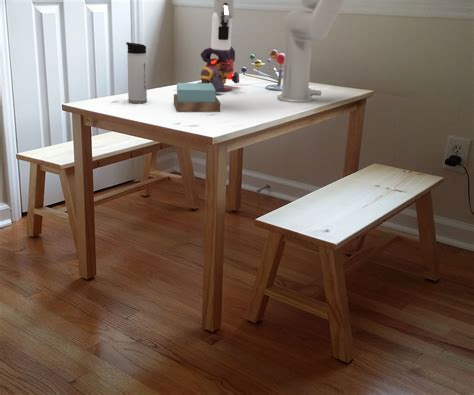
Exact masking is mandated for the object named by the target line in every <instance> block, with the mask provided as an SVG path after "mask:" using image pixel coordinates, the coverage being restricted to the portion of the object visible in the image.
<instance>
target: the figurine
mask: <svg viewBox="0 0 474 395" xmlns="http://www.w3.org/2000/svg"><path fill="white" fill-rule="evenodd" d="M212 54H213V55H215V56H217V57H215V58H214V57H213V58H212ZM200 57H201V59H202V61H203V62H204V63H205V66H204V67H203V68H202V70H201V71H200V76H199V77H200V81H198V82H197V83H211V84H213V86H214V88H215V90H216V93H230V92H232V91H233V87H232V86H230V85H226V82H227V80H228V81H229V80H231V82H233V83H234V84H238V83H240V73H239V72H238V71H235V68H234V62H235V60H236V50H235V49H234V47H232V46H231V49H230V50H213V49H212V48H211V47H208V48H205V49H204V50H202V52H200ZM234 71H235V72H234Z"/></svg>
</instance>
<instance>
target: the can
mask: <svg viewBox="0 0 474 395" xmlns="http://www.w3.org/2000/svg"><path fill="white" fill-rule="evenodd" d="M228 14H229V12H228ZM221 16H224V15H221ZM230 17H231V16H229V34H228V40H219V39H218V31H219V27H220V18H219V17H218V16H217V11H214V10H213V14H212V19H211V41H210V48H212V49H213V50H230V49H231V47H232V32H233V31H232V30H233V17H232V18H230Z"/></svg>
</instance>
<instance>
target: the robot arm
mask: <svg viewBox="0 0 474 395" xmlns="http://www.w3.org/2000/svg"><path fill="white" fill-rule="evenodd" d="M213 1H214V2H213V12H214V11H217V16H218V17H219V18H220V27H219V31H218V39H219V40H228V34H229V16H231V17H230V18H232V19H233V17H234V0H213ZM300 3H301V5H302V6H303V8H305V10H303V9H302V10H301V9H295V10H291V11H290V12H288V14H286V16H285V18H284V21H283V34H284V56H283V71H282V85H281V88H282V89H281V93H280V94H278V95H277V97H276V98H277V100H278V101H280V102H285V103H290V104H291V103H292V104H294V103H295V104H304V103H305V104H306V103H311V102H312V101H313V98H312V97H313V96H315V97H319V96H321V95H322V91H321V90H316V89H311V88H310V87H309V86H310V74H311V73H310V72H311V61H312V47H311V46H312V45H311V42H319V41H322V40H323V39H324V38H326V37H327V35H328V34H329V32H330V30H331V28H332V26H333V25H334V22H335V21H336V19H337V17H338V15H339V13H340V12H341V9H342V6H343V4H344V0H300ZM228 12H229V14H228ZM221 15H224V16H221Z"/></svg>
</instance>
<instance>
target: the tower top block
mask: <svg viewBox="0 0 474 395" xmlns="http://www.w3.org/2000/svg"><path fill="white" fill-rule="evenodd" d="M216 93H217V92H216V90H215V88H214V86H213V84H211V83H198V82H195V83H194V82H177V83H176V94H177V98H178V102H215V96H216Z"/></svg>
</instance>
